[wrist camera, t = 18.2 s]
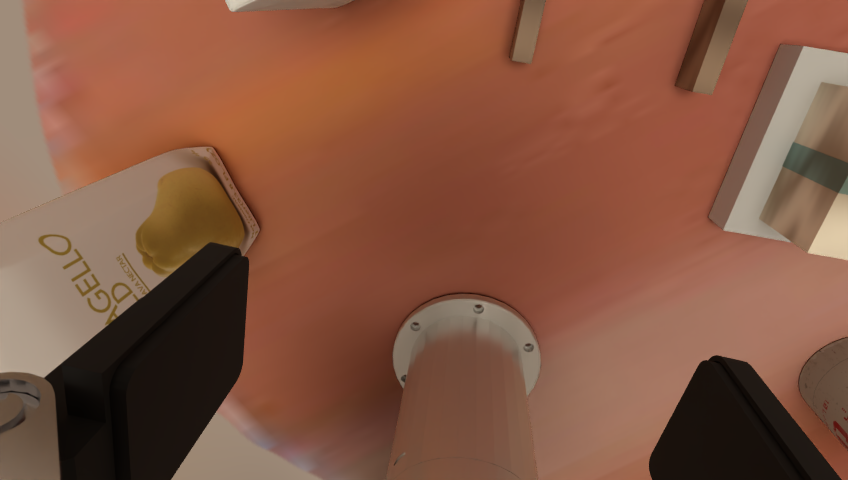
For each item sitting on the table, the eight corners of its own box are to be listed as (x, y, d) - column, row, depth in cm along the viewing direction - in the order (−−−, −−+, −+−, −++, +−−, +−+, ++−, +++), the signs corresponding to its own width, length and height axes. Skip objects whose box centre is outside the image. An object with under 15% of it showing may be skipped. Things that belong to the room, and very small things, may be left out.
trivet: (844, 241, 37) (869, 256, 34) (708, 217, 37) (723, 230, 35) (939, 70, 32) (974, 74, 30) (780, 44, 32) (803, 46, 30)
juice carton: (276, 235, 41) (47, 482, 19) (198, 266, 43) (-92, 522, 21) (215, 128, 38) (-141, 278, 16) (134, 166, 40) (-285, 346, 18)
